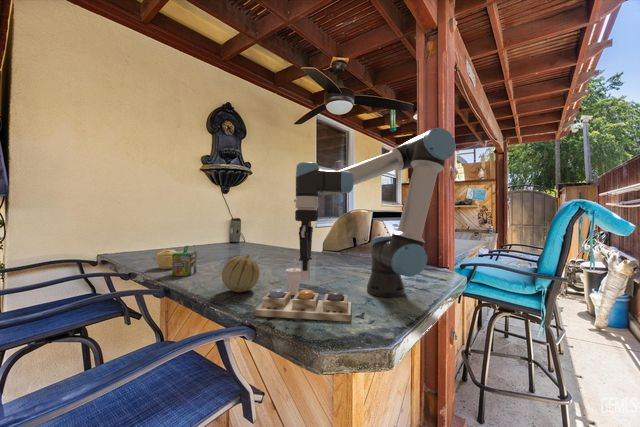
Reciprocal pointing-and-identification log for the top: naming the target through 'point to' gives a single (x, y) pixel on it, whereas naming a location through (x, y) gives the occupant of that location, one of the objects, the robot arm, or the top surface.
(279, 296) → the blue button
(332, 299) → the charcoal button
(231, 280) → the cantaloupe
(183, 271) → the chalk box
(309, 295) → the orange button
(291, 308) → the button panel
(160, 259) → the sculpture
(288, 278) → the smoothie
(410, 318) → the top surface
